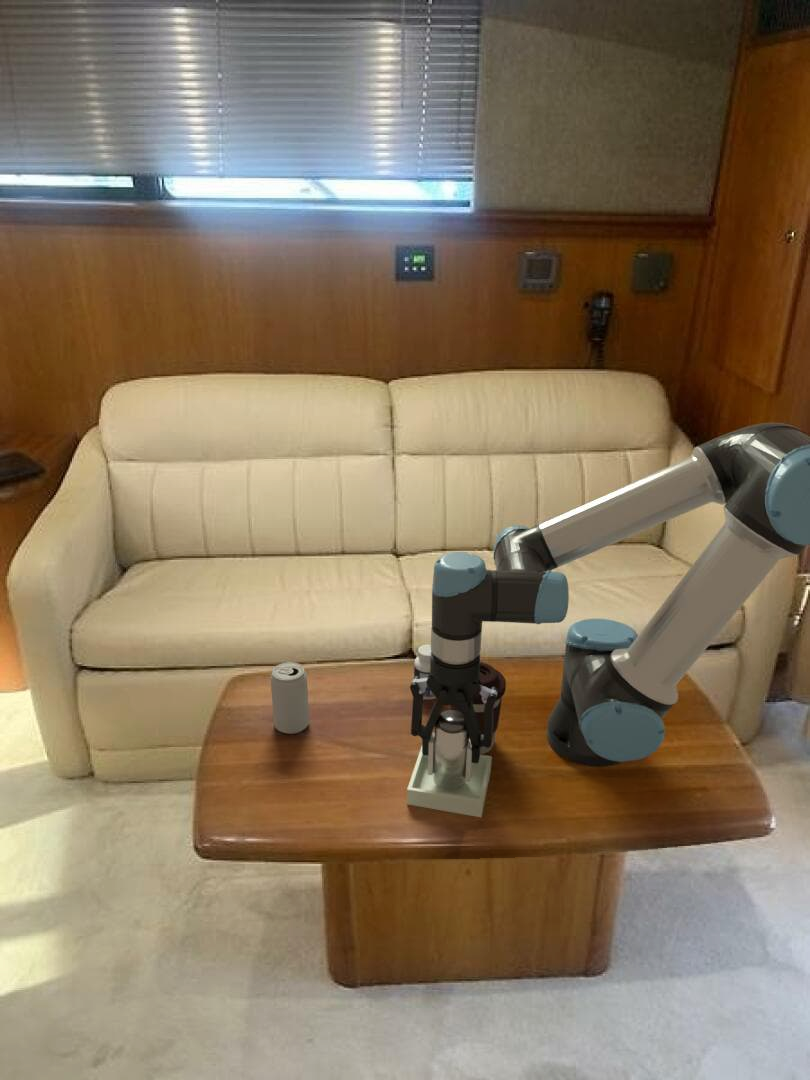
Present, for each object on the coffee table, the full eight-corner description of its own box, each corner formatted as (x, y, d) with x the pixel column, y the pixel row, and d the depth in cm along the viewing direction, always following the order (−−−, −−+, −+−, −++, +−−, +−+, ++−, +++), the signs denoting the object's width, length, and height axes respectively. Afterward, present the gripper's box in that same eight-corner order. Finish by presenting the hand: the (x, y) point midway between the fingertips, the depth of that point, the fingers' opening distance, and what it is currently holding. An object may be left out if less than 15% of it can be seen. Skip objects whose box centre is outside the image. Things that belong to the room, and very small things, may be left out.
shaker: (469, 770, 130) (472, 711, 125) (463, 793, 126) (467, 732, 121) (436, 764, 132) (438, 706, 127) (430, 787, 127) (431, 727, 122)
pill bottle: (415, 683, 156) (416, 641, 152) (442, 685, 155) (444, 643, 151) (412, 699, 151) (412, 656, 147) (440, 701, 151) (441, 658, 146)
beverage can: (303, 738, 140) (299, 682, 135) (269, 734, 141) (264, 678, 136) (314, 717, 146) (311, 662, 141) (281, 712, 147) (277, 658, 142)
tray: (490, 770, 133) (491, 756, 132) (481, 817, 123) (482, 802, 122) (421, 759, 135) (421, 745, 134) (407, 804, 126) (407, 789, 124)
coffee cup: (451, 764, 134) (454, 691, 128) (440, 728, 143) (442, 658, 137) (507, 758, 136) (513, 686, 130) (493, 723, 145) (498, 654, 138)
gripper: (519, 646, 120) (509, 766, 129) (401, 631, 124) (400, 749, 133) (514, 674, 113) (504, 798, 123) (390, 656, 117) (389, 778, 127)
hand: (450, 772), depth 128 cm, fingers closed on shaker, 5 cm apart
